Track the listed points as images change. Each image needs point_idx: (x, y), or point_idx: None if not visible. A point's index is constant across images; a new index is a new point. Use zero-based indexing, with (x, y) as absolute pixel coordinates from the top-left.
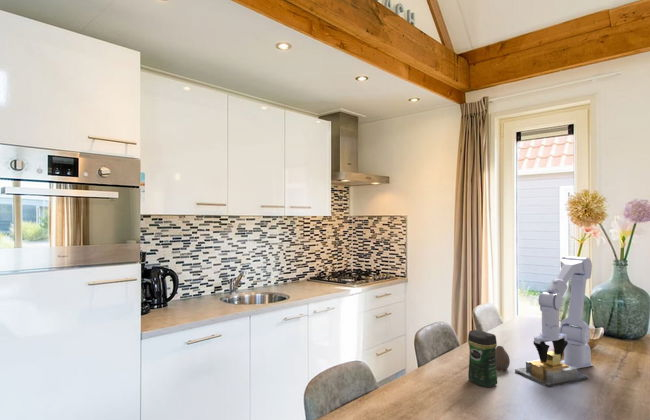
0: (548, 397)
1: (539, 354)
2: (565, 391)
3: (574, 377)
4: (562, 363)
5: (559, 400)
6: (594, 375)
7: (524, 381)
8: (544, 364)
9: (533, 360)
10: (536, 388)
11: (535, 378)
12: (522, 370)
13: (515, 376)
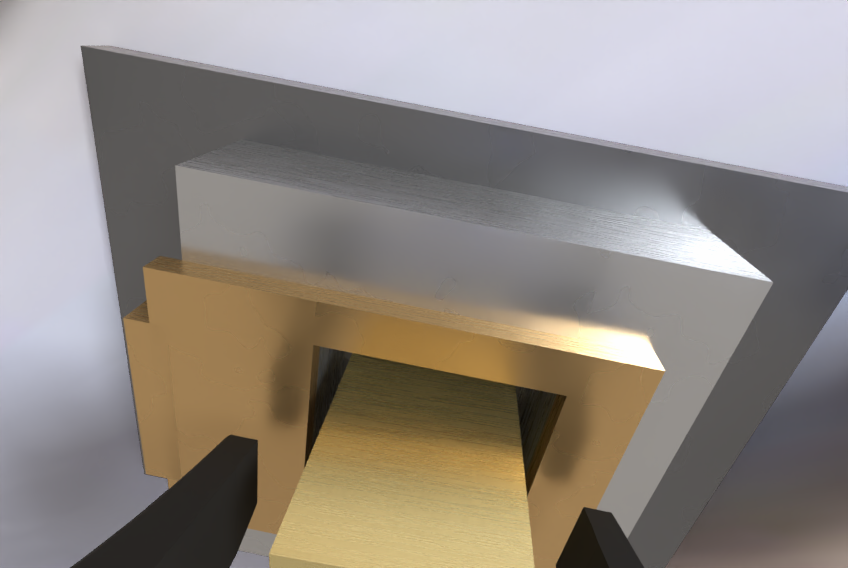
0: (26, 512)
1: (144, 526)
2: None
3: None
4: (561, 539)
5: (68, 557)
6: (813, 555)
7: (33, 286)
8: (287, 435)
9: (359, 207)
10: (42, 413)
11: (127, 358)
12: (159, 138)
13: (18, 151)
